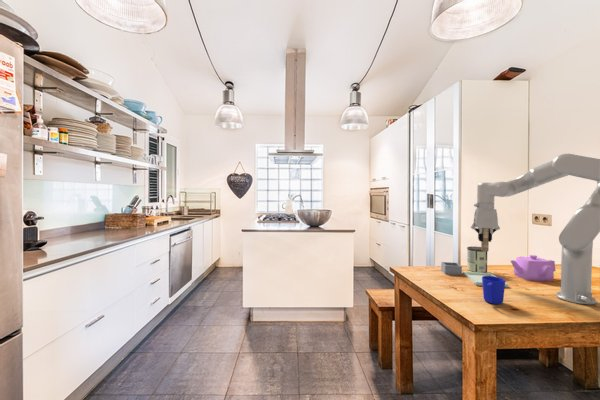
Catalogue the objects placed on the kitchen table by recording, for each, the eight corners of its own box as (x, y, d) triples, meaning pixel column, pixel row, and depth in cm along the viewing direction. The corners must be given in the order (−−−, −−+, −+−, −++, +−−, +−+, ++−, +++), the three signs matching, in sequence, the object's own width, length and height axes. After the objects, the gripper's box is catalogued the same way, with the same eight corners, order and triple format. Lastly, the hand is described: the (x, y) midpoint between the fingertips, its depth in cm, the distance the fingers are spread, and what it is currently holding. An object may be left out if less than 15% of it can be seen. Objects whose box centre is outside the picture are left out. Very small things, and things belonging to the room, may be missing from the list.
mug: (476, 304, 119) (477, 280, 118) (484, 297, 127) (484, 274, 127) (500, 310, 113) (500, 284, 113) (506, 302, 121) (507, 278, 121)
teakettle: (556, 278, 156) (556, 255, 155) (550, 284, 145) (550, 260, 144) (517, 271, 169) (518, 251, 168) (509, 277, 158) (509, 255, 157)
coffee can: (474, 268, 175) (475, 245, 175) (491, 273, 166) (491, 248, 166) (462, 270, 172) (463, 247, 171) (479, 274, 162) (479, 250, 162)
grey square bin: (461, 276, 159) (461, 266, 159) (445, 275, 161) (445, 265, 161) (457, 272, 168) (457, 262, 168) (441, 271, 170) (441, 261, 170)
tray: (508, 287, 140) (508, 284, 140) (476, 285, 143) (476, 282, 143) (491, 276, 159) (491, 273, 159) (463, 274, 162) (463, 271, 162)
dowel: (489, 251, 148) (489, 224, 147) (482, 251, 149) (483, 224, 148) (486, 250, 151) (487, 223, 151) (480, 250, 152) (480, 223, 151)
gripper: (470, 206, 147) (470, 241, 148) (506, 206, 144) (506, 243, 144) (465, 205, 155) (465, 239, 155) (500, 206, 151) (499, 240, 151)
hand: (484, 241), depth 150 cm, fingers closed on dowel, 3 cm apart
